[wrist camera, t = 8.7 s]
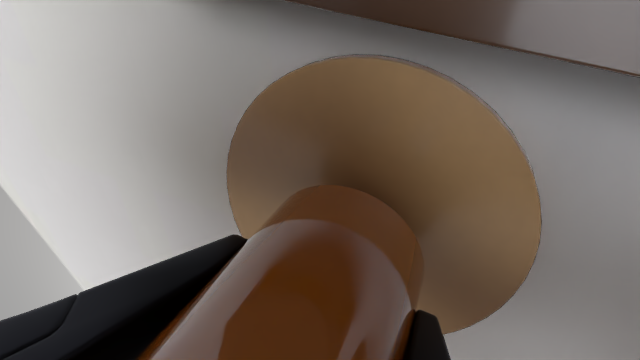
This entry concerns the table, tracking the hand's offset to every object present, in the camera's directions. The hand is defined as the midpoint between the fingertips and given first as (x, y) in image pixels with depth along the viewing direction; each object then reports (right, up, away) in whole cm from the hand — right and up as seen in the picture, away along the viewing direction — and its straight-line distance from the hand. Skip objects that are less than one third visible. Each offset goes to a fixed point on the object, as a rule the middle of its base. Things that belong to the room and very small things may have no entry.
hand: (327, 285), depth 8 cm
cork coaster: (+1, +1, +3) cm, 3 cm away
